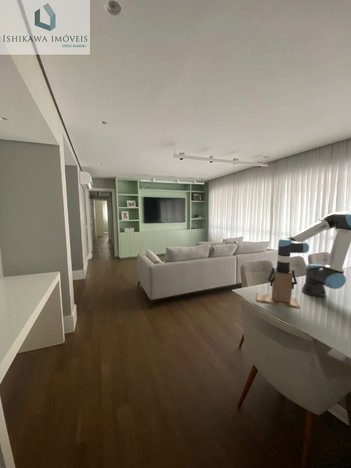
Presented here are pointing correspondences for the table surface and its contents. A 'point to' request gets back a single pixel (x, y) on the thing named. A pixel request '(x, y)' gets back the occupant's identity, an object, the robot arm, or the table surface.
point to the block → (282, 287)
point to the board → (270, 299)
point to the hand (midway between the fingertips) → (281, 292)
